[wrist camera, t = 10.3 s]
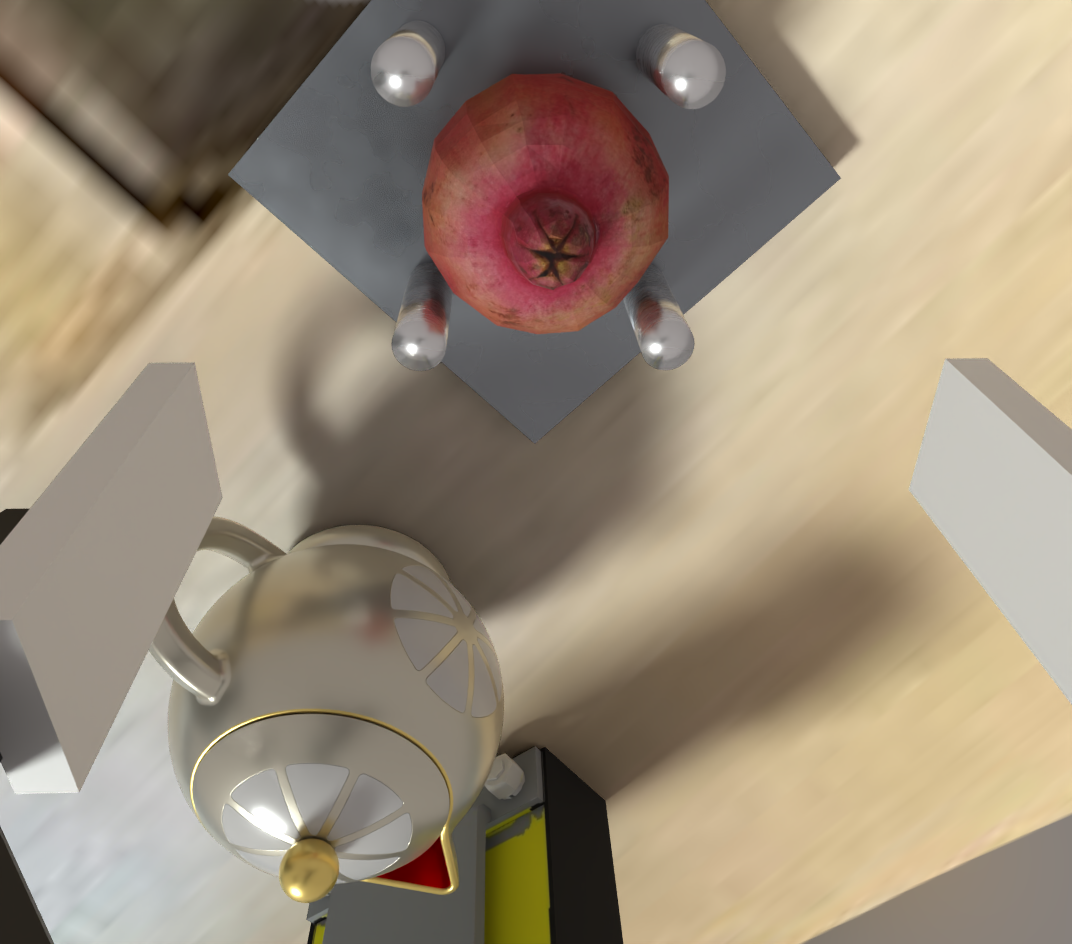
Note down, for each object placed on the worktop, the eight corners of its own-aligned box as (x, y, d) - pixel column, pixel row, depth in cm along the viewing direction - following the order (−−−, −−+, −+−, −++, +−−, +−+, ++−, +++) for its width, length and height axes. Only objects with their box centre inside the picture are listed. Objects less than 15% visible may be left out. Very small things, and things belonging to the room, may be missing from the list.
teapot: (564, 611, 45) (595, 917, 31) (369, 731, 49) (318, 1050, 35) (310, 358, 37) (196, 613, 23) (103, 526, 41) (-102, 830, 27)
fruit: (382, 152, 32) (340, 231, 23) (565, 4, 29) (593, 30, 21) (515, 321, 35) (520, 444, 27) (687, 201, 33) (754, 292, 24)
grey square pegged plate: (236, 167, 33) (176, 219, 27) (542, -205, 27) (556, -247, 21) (533, 430, 39) (540, 521, 33) (830, 170, 34) (904, 222, 28)
